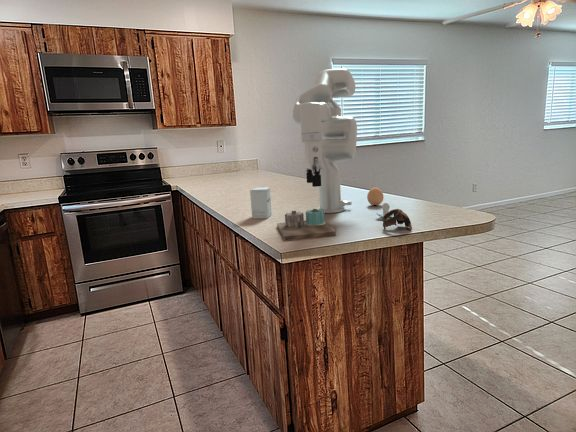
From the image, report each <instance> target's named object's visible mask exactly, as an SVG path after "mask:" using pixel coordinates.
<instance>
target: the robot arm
mask: <svg viewBox="0 0 576 432" xmlns="http://www.w3.org/2000/svg"><path fill="white" fill-rule="evenodd" d="M355 91H356V82H355V78H354V77H353V75H352V73H351V71H350V70H348V69H347V68H345V67H342V68H340V67H339V68H329V69H324V70H321V71H319V72H318V74H317V75H316V77H315V80H314V83H313V86H312V87H311V88H309V89H308V90H306V91H304V92H302V93H301V94H300V95H299V96H298V97H297V98H296V100H295V103H294V105H293V109H292V119H293V121H294V122H295V123H296V124H299V125H300V135H301V136H300V138H301V143H304V144H303V145H304V146H303V148H304V149H303V151H304V164H305V168H306V170H305V171H306V173H305V174H306V183H307V184H311V185H312V187H315V188H316V187H318V194H319V195H318V196H319V199H318V201H319V206H318V207H316V209H317V210H318V209H320V210H324V214H336V213H341V212H344V211H345V209H346V208H345V207H346V206H351V205H352V200H343V199H342V198H341V197H342V195H341V192H342V191H341V171H340V169H339V167H338V165H337V164H336V163H335V162H345V161H352V160H354V159H355V157H356V153H357V136H358V124H357V120H356V119H355V118H354V117H353V116H342V109H341V107H340V105H339V104H338V103H337V102H336V101H335V100H334V99H337V98H349V97H352V96H353V95H354V94H355ZM333 98H334V99H333Z"/></svg>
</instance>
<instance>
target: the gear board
mask: <svg viewBox="0 0 576 432" xmlns="http://www.w3.org/2000/svg"><path fill="white" fill-rule="evenodd" d="M312 210H313V212H317V208H312ZM276 227H277V229H278V231H279V233H280V234H281V236H282V238H283V240H284V241H285V242H287V241H294V240H304V239H313V238H324V237H335V236H337V235H336V234H337V232H336V230H335V229H334V228H333V227H331V226H330V224H328V223H327V222H326V221H325V222H324V224H319V225H309V224H306V220H305V219H304V212H301V211H297V210H292V211H290V212H286V213H285V214H284V222H277V223H276Z"/></svg>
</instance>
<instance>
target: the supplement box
mask: <svg viewBox="0 0 576 432" xmlns="http://www.w3.org/2000/svg"><path fill="white" fill-rule="evenodd" d="M249 193H250V194H249V195H250V209H251V218H252V219H269V218H270V216H272V214H273V213H272V198H271V187H270V186H267V187H265V186H264V187H263V186H261V187H253V188H252V189H250V191H249Z"/></svg>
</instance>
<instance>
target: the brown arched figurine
mask: <svg viewBox="0 0 576 432" xmlns="http://www.w3.org/2000/svg"><path fill="white" fill-rule="evenodd" d="M393 214H394V215H393ZM391 215H393V216H391ZM390 216H391V217H392V218H390V219H387V218H388V217H390ZM386 219H387V220H386ZM381 221H382V227H383V228H384V229H386V228H387V227H391V226H398V225H403V224H404V227H405V228H408V227H409V229H408V230H409V231H412V229H413V227H412V223H411V219H410V217H409V216H408V214H407V213H405V212H404V211H403V210H402V209H399V208H393V209H392V210H388V213H386V214H385V215H384V216H383V218H382V220H381ZM397 224H398V225H397Z"/></svg>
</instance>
